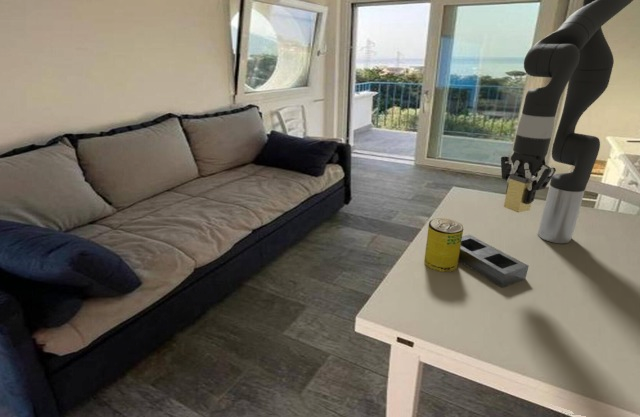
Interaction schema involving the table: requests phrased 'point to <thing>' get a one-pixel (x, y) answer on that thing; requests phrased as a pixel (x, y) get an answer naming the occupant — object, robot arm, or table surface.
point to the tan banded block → (517, 193)
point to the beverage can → (443, 244)
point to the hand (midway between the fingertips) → (518, 199)
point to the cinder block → (491, 262)
